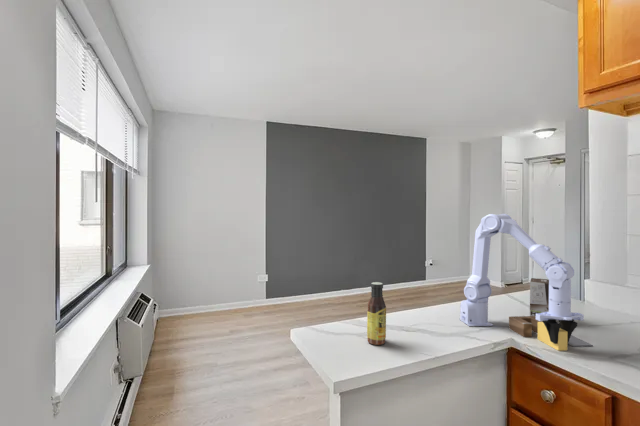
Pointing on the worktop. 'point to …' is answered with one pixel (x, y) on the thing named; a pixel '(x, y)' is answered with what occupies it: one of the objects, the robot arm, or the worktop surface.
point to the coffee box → (539, 296)
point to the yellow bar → (545, 337)
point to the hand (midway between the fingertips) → (559, 342)
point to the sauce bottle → (376, 315)
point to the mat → (577, 342)
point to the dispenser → (524, 325)
